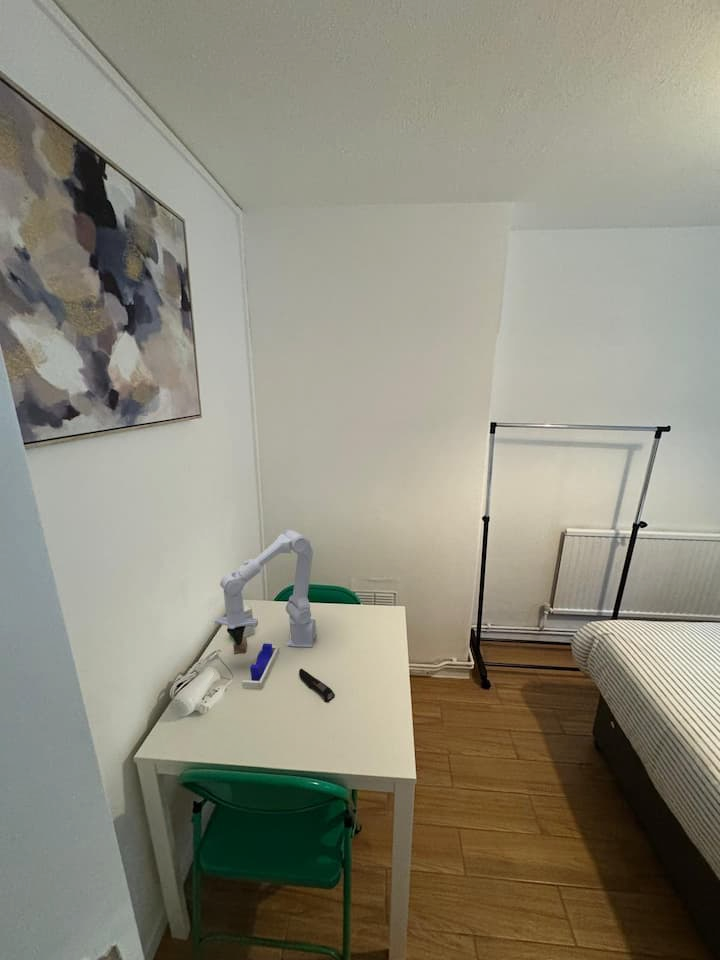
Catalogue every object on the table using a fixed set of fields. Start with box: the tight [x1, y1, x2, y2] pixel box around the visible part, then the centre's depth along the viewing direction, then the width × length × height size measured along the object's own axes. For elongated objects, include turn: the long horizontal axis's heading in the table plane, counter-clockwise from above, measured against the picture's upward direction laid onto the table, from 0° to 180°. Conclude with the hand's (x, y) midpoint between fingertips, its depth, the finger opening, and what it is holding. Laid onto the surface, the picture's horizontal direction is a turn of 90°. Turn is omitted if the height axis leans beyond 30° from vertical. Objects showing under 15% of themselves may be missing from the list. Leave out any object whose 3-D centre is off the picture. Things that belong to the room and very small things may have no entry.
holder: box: [241, 645, 280, 690], centre depth 130 cm, size 6×18×2 cm, turn 173°
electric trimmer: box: [298, 668, 336, 703], centre depth 121 cm, size 4×16×3 cm, turn 46°
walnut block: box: [232, 637, 248, 655], centre depth 140 cm, size 4×4×4 cm
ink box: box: [228, 603, 256, 643], centre depth 147 cm, size 9×5×12 cm, turn 129°
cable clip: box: [249, 642, 273, 681], centre depth 129 cm, size 12×4×6 cm, turn 173°
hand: (239, 643), depth 129 cm, fingers closed
